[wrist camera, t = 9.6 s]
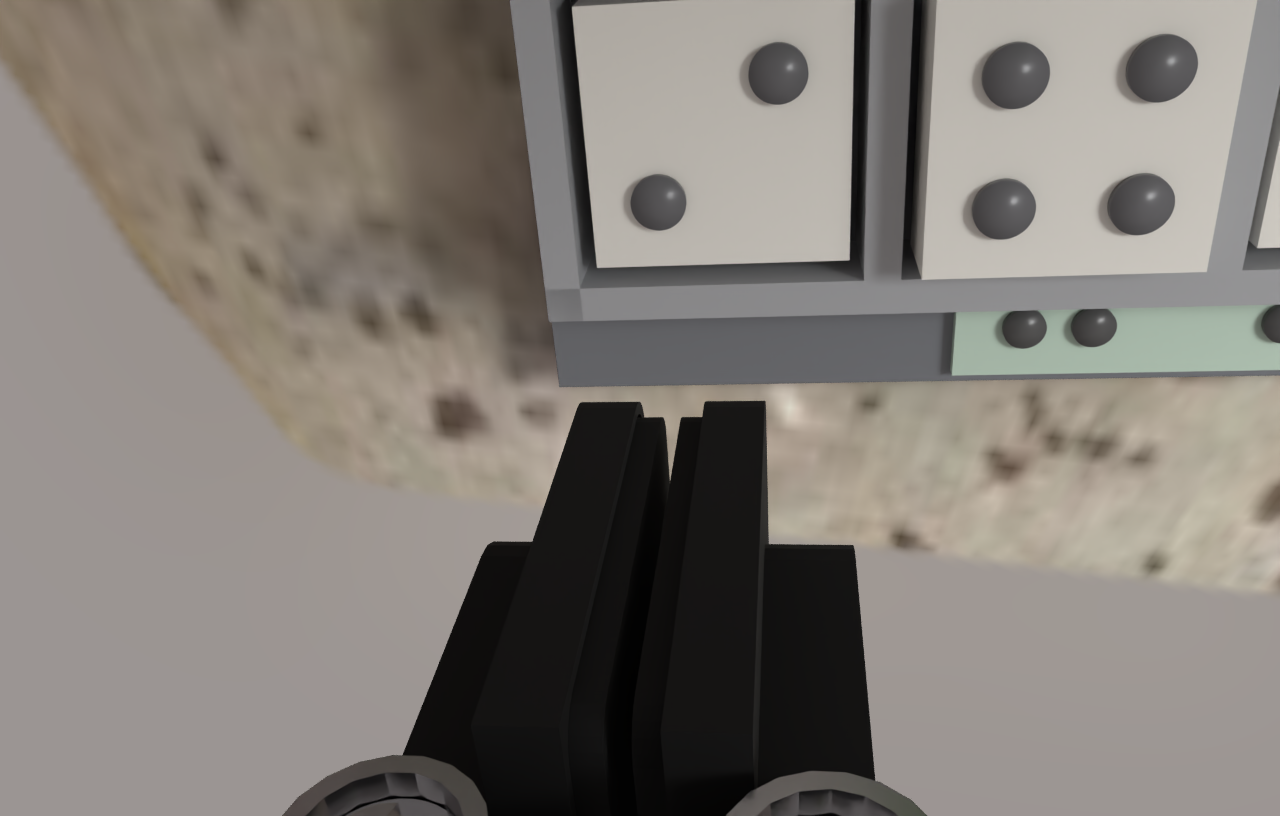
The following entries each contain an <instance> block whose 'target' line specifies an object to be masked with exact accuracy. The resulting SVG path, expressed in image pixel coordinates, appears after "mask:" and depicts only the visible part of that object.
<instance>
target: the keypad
mask: <svg viewBox="0 0 1280 816" xmlns="http://www.w3.org/2000/svg"><path fill="white" fill-rule="evenodd" d="M577 1H578V0H510V7H511V15H512V24H513V32H514V40H515V48H516V56H517V65H518V73H519V81H520V89H521V97H522V106H523V114H524V122H525V130H526V138H527V147H528V155H529V163H530V171H531V179H532V188H533V196H534V204H535V212H536V220H537V229H538V237H539V245H540V253H541V261H542V270H543V278H544V286H545V294H546V302H547V311H548V319H549V322H552V329H553V337H554V346H555V354H556V362H557V370H558V379H559V387H594V386H656V385H717V384H779V383H840V382H901V381H963V380H1024V379H1086V378H1147V377H1208V376H1270V375H1280V248H1256V247H1255V246H1254V245H1253V244H1252V243H1251V242H1250V241H1249V235H1250V230H1251V225H1252V220H1253V215H1254V210H1255V205H1256V200H1257V195H1258V190H1259V185H1260V181H1261V176H1262V171H1263V166H1264V161H1265V156H1266V151H1267V146H1268V141H1269V136H1270V131H1271V126H1272V121H1273V116H1274V111H1275V107H1276V102H1277V97H1278V92H1279V87H1280V0H1257V5H1256V10H1255V16H1254V21H1253V26H1252V32H1251V37H1250V42H1249V48H1248V53H1247V59H1246V64H1245V69H1244V75H1243V80H1242V85H1241V91H1240V96H1239V101H1238V107H1237V112H1236V118H1235V123H1234V128H1233V134H1232V139H1231V144H1230V150H1229V155H1228V160H1227V166H1226V171H1225V177H1224V182H1223V187H1222V193H1221V198H1220V203H1219V209H1218V214H1217V219H1216V225H1215V230H1214V236H1213V241H1212V246H1211V252H1210V257H1209V262H1208V268H1207V272H1189V273H1152V274H1116V275H1080V276H1043V277H1007V278H970V279H934V280H922V279H921V276H920V273H919V269H918V266H917V263H916V260H915V257H914V254H913V251H912V247H911V223H912V202H913V182H914V161H915V140H916V119H917V99H918V78H919V57H920V36H921V16H922V0H855V18H854V67H853V116H852V165H851V214H850V260H846V261H812V262H779V263H745V264H712V265H678V266H645V267H611V268H597V263H596V253H595V242H594V232H593V222H592V211H591V201H590V191H589V180H588V170H587V159H586V149H585V139H584V128H583V118H582V108H581V97H580V87H579V77H578V66H577V56H576V46H575V35H574V25H573V15H572V6H573V5H574V4H575V3H576V2H577Z"/></svg>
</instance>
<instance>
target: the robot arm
mask: <svg viewBox="0 0 1280 816" xmlns="http://www.w3.org/2000/svg"><path fill="white" fill-rule="evenodd" d="M282 816H927V815H926V814H925V813H924V812H923V811H922V810H921V809H920V808H919V807H918V806H917V805H916V804H915V803H914V802H913V801H912V800H910V799H909V798H907V797H905V796H903V795H902V794H900V793H898V792H897V791H895V790H893V789H891V788H889V787H888V786H886V785H884V784H883V783H881V782H878V781H875V773H874V762H873V751H872V739H871V727H870V716H869V705H868V693H867V682H866V671H865V660H864V648H863V637H862V627H861V614H860V603H859V592H858V580H857V569H856V558H855V550H854V546H853V545H788V544H779V545H778V544H769V539H768V488H767V437H766V404H765V401H706V402H705V404H704V409H703V417H682V418H681V421H680V427H679V433H678V438H677V444H676V450H675V456H674V462H673V468H672V474H671V480H670V479H669V465H668V451H667V437H666V426H665V421H664V418H663V417H648V418H644V413H643V408H642V405H641V403H640V402H582V403H580V404H579V406H578V408H577V411H576V413H575V416H574V419H573V422H572V425H571V428H570V431H569V434H568V437H567V440H566V443H565V446H564V449H563V452H562V455H561V458H560V461H559V464H558V467H557V470H556V473H555V476H554V479H553V482H552V485H551V488H550V491H549V494H548V497H547V500H546V503H545V506H544V509H543V512H542V515H541V518H540V521H539V524H538V526H537V530H536V532H535V536H534V538H533V541H532V542H492V543H490V544H489V545H487V547H486V549H485V550H484V553H483V554H482V556H481V558H480V561H479V564H478V566H477V569H476V571H475V574H474V576H473V579H472V581H471V584H470V586H469V589H468V592H467V594H466V597H465V599H464V602H463V604H462V606H461V609H460V611H459V614H458V617H457V619H456V622H455V624H454V627H453V629H452V633H451V634H450V637H449V639H448V642H447V644H446V647H445V650H444V652H443V654H442V657H441V660H440V662H439V664H438V667H437V670H436V672H435V675H434V677H433V680H432V682H431V685H430V687H429V690H428V692H427V695H426V697H425V700H424V703H423V705H422V707H421V710H420V712H419V715H418V718H417V720H416V723H415V725H414V728H413V730H412V733H411V735H410V738H409V740H408V743H407V745H406V748H405V750H404V753H403V755H402V756H401V755H391V756H386V757H382V758H376V759H372V760H367V761H362V762H358V763H356V764H354V765H351V766H349V767H347V768H345V769H342V770H340V771H338V772H336V773H333V774H331V775H329V776H327V777H325V778H324V779H323V780H321V781H320V782H319V783H317V784H316V785H314V786H313V787H311V788H310V789H309V790H308V791H306V792H305V793H303V794H302V795H301V796H299V797H298V798H297V799H296V800H295V801H294V803H293V804H292V805H291V806H290V807H289V808H288V810H287V811H286V812H285V813H284V814H283V815H282Z"/></svg>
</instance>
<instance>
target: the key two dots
mask: <svg viewBox="0 0 1280 816" xmlns="http://www.w3.org/2000/svg"><path fill="white" fill-rule="evenodd" d="M572 15H573V25H574V35H575V46H576V56H577V66H578V77H579V87H580V97H581V108H582V118H583V128H584V139H585V149H586V159H587V170H588V180H589V191H590V201H591V211H592V222H593V232H594V242H595V253H596V263H597V268H611V267H645V266H678V265H712V264H745V263H779V262H812V261H846V260H850V214H851V165H852V116H853V67H854V18H855V0H578V1H577V2H576V3H575V4H574V5H573V6H572Z"/></svg>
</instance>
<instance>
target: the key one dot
mask: <svg viewBox="0 0 1280 816" xmlns="http://www.w3.org/2000/svg"><path fill="white" fill-rule="evenodd" d="M1249 241H1250V242H1251V243H1252V244H1253V245H1254V246H1255V247H1256V248H1280V87H1279V92H1278V97H1277V102H1276V107H1275V111H1274V116H1273V121H1272V126H1271V131H1270V136H1269V141H1268V146H1267V151H1266V156H1265V161H1264V166H1263V171H1262V176H1261V181H1260V185H1259V190H1258V195H1257V200H1256V205H1255V210H1254V215H1253V220H1252V225H1251V230H1250V235H1249Z"/></svg>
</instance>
